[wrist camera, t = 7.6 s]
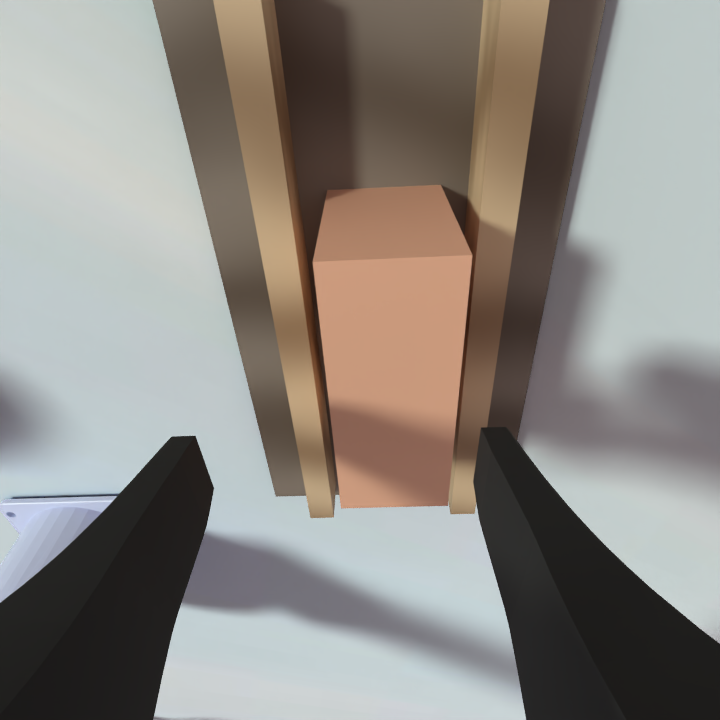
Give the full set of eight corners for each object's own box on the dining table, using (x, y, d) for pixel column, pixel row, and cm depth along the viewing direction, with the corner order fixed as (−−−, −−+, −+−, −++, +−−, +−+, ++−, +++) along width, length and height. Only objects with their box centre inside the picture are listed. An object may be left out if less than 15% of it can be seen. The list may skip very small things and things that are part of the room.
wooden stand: (504, 481, 27) (517, 524, 25) (277, 487, 27) (269, 530, 25) (617, -103, 13) (672, -128, 10) (143, -68, 13) (97, -85, 11)
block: (327, 190, 17) (312, 261, 12) (440, 184, 17) (472, 255, 12) (346, 402, 23) (341, 508, 18) (429, 399, 23) (447, 505, 18)
